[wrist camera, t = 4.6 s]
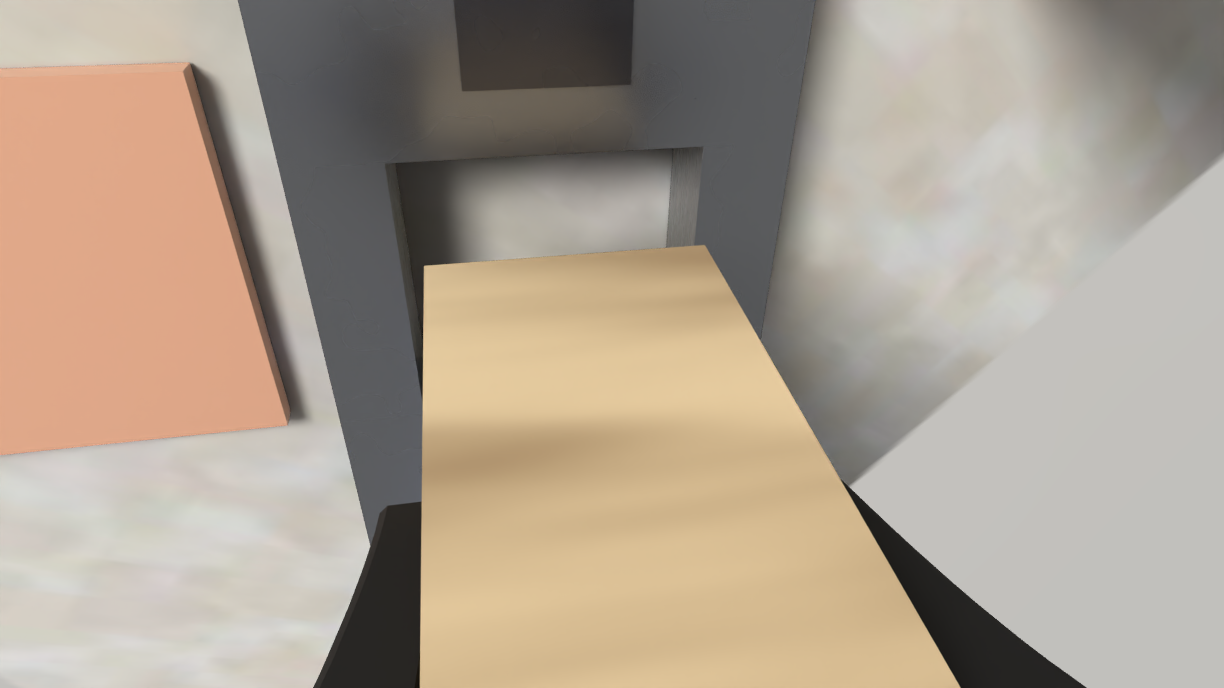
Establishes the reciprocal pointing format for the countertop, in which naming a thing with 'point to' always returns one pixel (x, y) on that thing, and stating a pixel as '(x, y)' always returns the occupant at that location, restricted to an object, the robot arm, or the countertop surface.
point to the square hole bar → (506, 152)
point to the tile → (122, 266)
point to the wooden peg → (635, 493)
